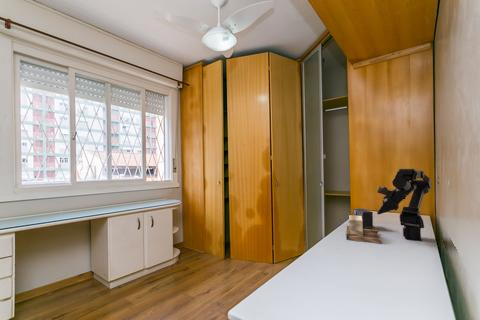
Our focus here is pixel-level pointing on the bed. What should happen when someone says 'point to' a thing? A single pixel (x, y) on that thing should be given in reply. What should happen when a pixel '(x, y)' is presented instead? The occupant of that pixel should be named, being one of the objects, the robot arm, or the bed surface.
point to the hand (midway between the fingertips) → (377, 213)
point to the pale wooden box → (355, 225)
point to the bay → (365, 236)
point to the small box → (365, 218)
